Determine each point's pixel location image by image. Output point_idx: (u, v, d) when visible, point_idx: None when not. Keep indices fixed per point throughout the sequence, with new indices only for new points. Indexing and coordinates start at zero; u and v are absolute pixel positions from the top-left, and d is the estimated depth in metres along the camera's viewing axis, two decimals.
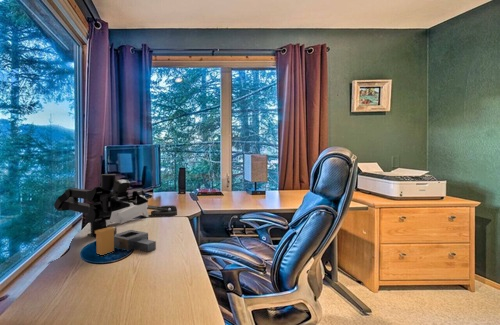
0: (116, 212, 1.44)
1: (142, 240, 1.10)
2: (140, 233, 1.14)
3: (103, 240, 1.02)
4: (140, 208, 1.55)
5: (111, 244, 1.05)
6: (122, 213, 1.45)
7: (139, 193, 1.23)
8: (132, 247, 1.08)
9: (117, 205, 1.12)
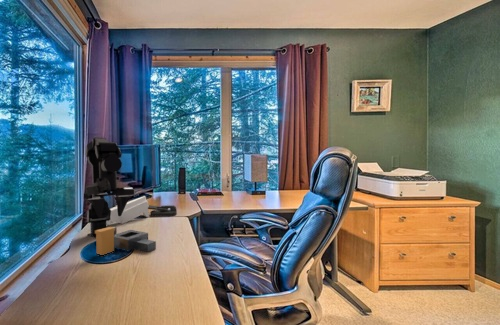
0: (117, 212, 1.44)
1: (142, 240, 1.10)
2: (140, 233, 1.14)
3: (103, 240, 1.02)
4: (141, 208, 1.56)
5: (111, 244, 1.05)
6: (123, 213, 1.46)
7: (116, 199, 1.02)
8: (132, 247, 1.08)
9: None
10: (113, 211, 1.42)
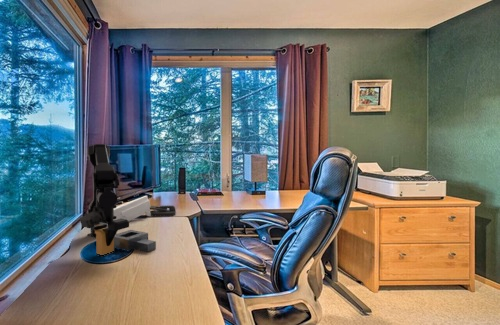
0: (119, 211, 1.45)
1: (142, 240, 1.10)
2: (140, 233, 1.14)
3: (103, 240, 1.02)
4: (143, 207, 1.57)
5: (111, 244, 1.05)
6: (125, 212, 1.47)
7: (104, 231, 1.01)
8: (132, 247, 1.08)
9: None
10: (115, 210, 1.43)
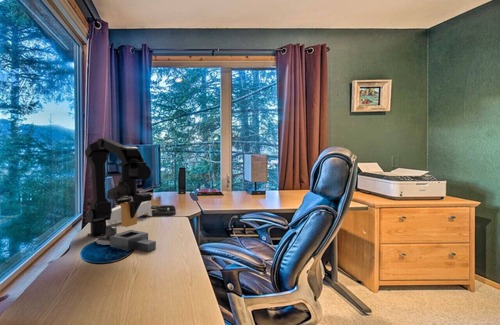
0: None
1: (142, 240, 1.10)
2: (140, 233, 1.14)
3: (128, 212, 1.10)
4: (144, 207, 1.57)
5: (134, 216, 1.13)
6: None
7: (129, 203, 1.09)
8: (132, 247, 1.08)
9: None
10: (117, 210, 1.44)
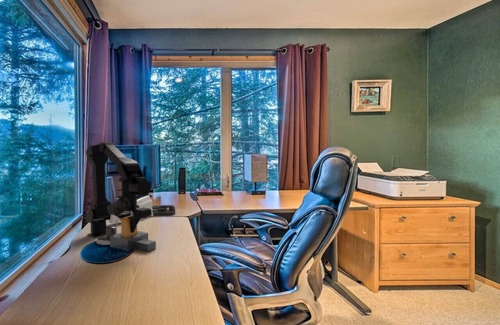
0: None
1: (142, 240, 1.10)
2: (140, 233, 1.14)
3: (128, 227, 1.10)
4: (145, 207, 1.58)
5: (134, 231, 1.14)
6: None
7: (129, 219, 1.09)
8: (132, 247, 1.08)
9: None
10: None
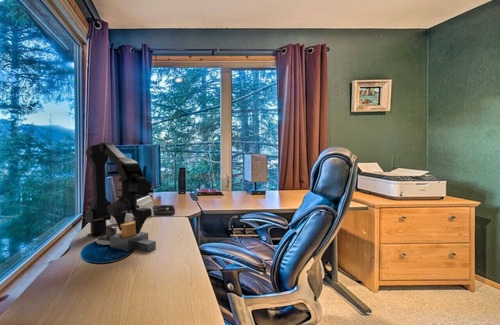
0: None
1: (142, 240, 1.10)
2: (140, 233, 1.14)
3: (128, 233, 1.11)
4: (146, 207, 1.58)
5: None
6: None
7: (135, 219, 1.08)
8: (132, 247, 1.08)
9: None
10: None
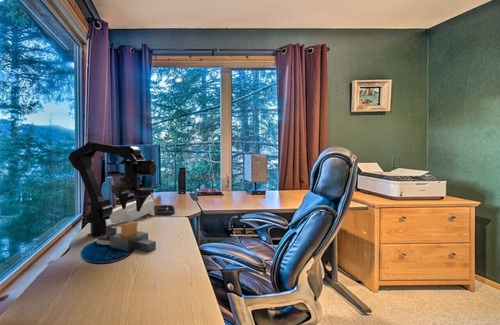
0: (124, 211, 1.47)
1: (142, 240, 1.10)
2: (140, 233, 1.14)
3: (128, 233, 1.11)
4: (147, 207, 1.59)
5: None
6: (130, 212, 1.49)
7: (135, 198, 1.19)
8: (132, 247, 1.08)
9: None
10: (120, 210, 1.45)
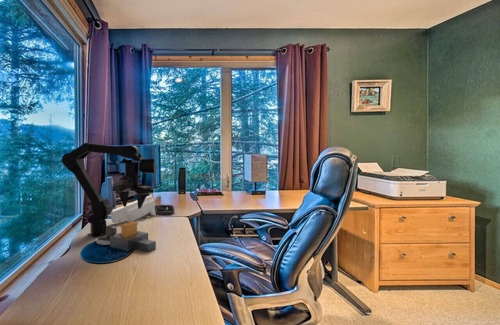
0: (125, 211, 1.48)
1: (142, 240, 1.10)
2: (140, 233, 1.14)
3: (128, 233, 1.11)
4: (148, 206, 1.59)
5: None
6: (131, 212, 1.49)
7: (137, 196, 1.24)
8: (132, 247, 1.08)
9: None
10: (121, 210, 1.46)
